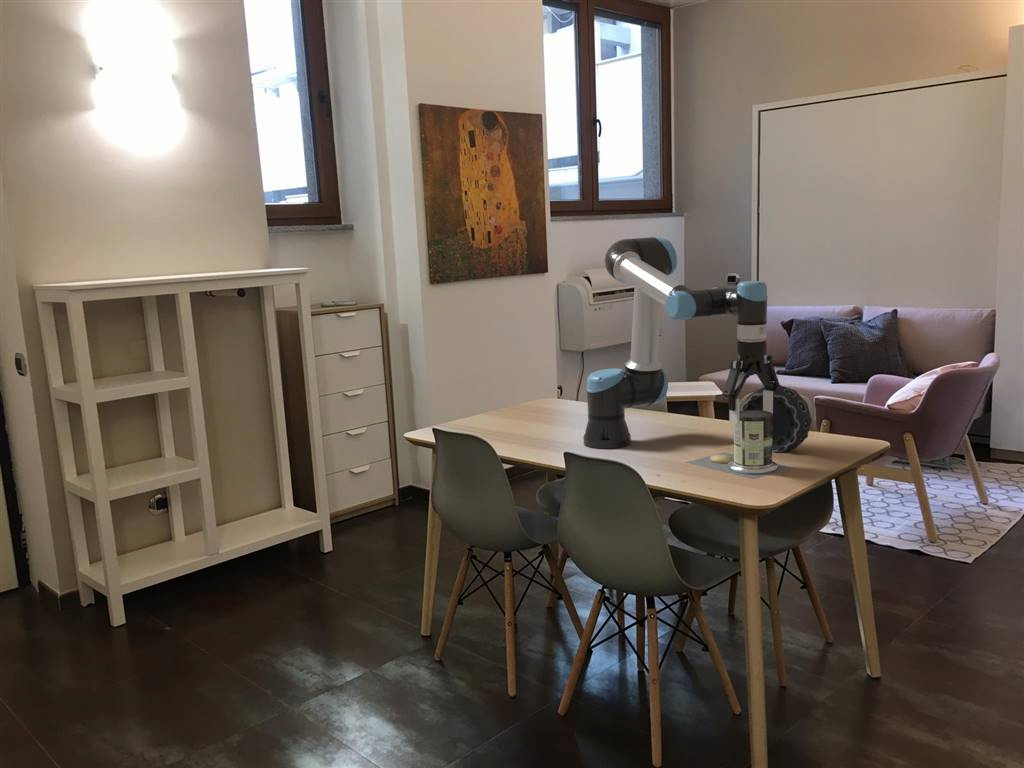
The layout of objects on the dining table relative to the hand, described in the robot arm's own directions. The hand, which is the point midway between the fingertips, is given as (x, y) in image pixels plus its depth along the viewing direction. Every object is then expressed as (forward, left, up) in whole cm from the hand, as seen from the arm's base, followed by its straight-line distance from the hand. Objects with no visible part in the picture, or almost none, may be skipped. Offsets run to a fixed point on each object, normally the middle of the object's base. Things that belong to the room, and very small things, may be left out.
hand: (751, 418), depth 236 cm
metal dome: (0, 0, -14) cm, 14 cm away
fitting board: (-5, 0, -15) cm, 16 cm away
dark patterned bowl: (-10, +22, -16) cm, 29 cm away
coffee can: (0, 0, -13) cm, 13 cm away
